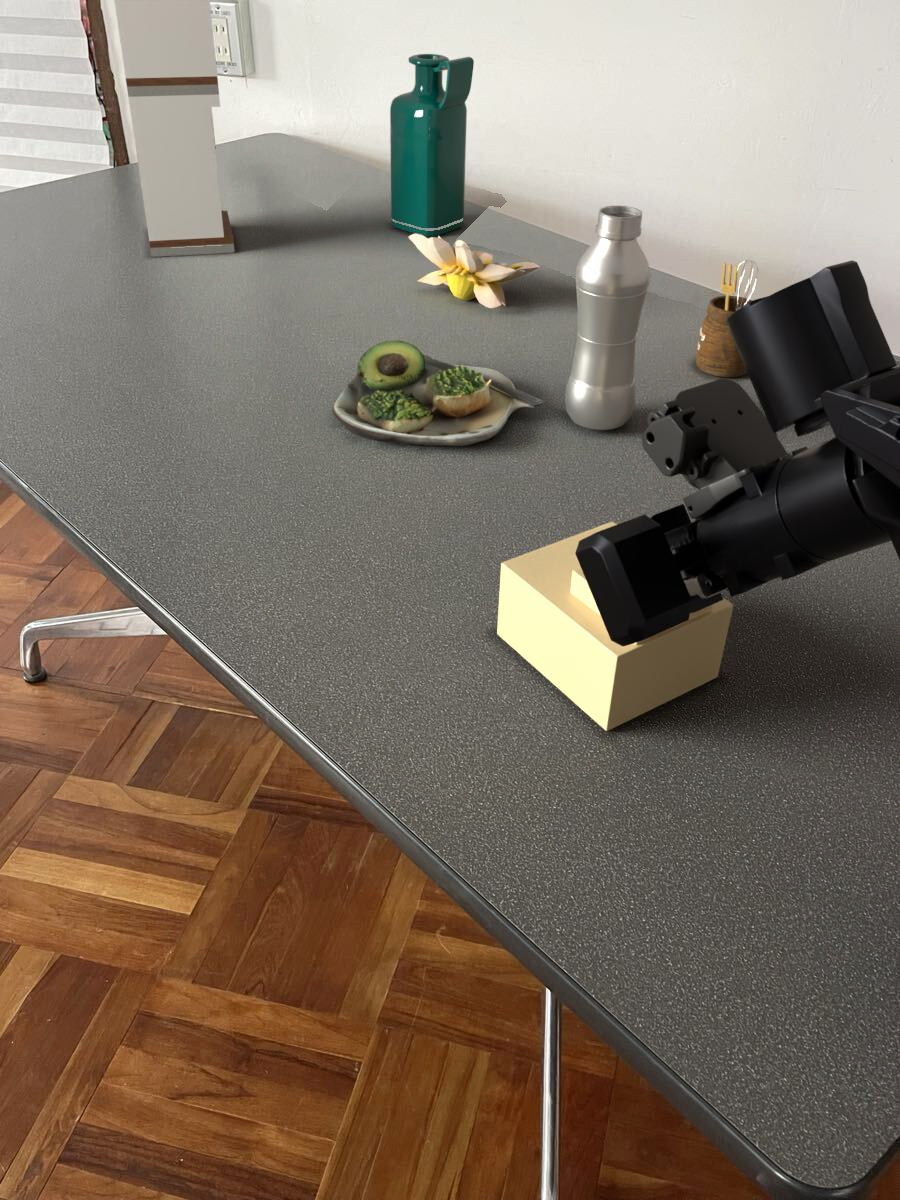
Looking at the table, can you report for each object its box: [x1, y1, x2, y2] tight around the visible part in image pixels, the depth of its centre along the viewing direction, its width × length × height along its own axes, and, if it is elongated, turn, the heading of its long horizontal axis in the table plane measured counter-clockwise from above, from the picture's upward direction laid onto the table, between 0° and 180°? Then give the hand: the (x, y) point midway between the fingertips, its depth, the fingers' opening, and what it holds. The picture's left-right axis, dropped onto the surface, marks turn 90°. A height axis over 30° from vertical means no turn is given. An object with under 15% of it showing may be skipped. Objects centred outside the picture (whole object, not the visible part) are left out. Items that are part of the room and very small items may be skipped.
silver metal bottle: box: [564, 205, 651, 431], centre depth 98 cm, size 6×7×20 cm
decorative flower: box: [408, 233, 541, 309], centre depth 127 cm, size 15×11×10 cm
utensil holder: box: [695, 259, 759, 379], centre depth 111 cm, size 6×6×12 cm
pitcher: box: [389, 53, 475, 238], centre depth 145 cm, size 10×8×22 cm
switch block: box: [496, 521, 734, 732], centre depth 73 cm, size 12×10×8 cm
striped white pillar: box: [113, 0, 236, 258], centre depth 134 cm, size 11×11×35 cm
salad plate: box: [331, 339, 544, 447], centre depth 104 cm, size 19×18×5 cm
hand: (644, 574), depth 68 cm, fingers closed, pressing on button
